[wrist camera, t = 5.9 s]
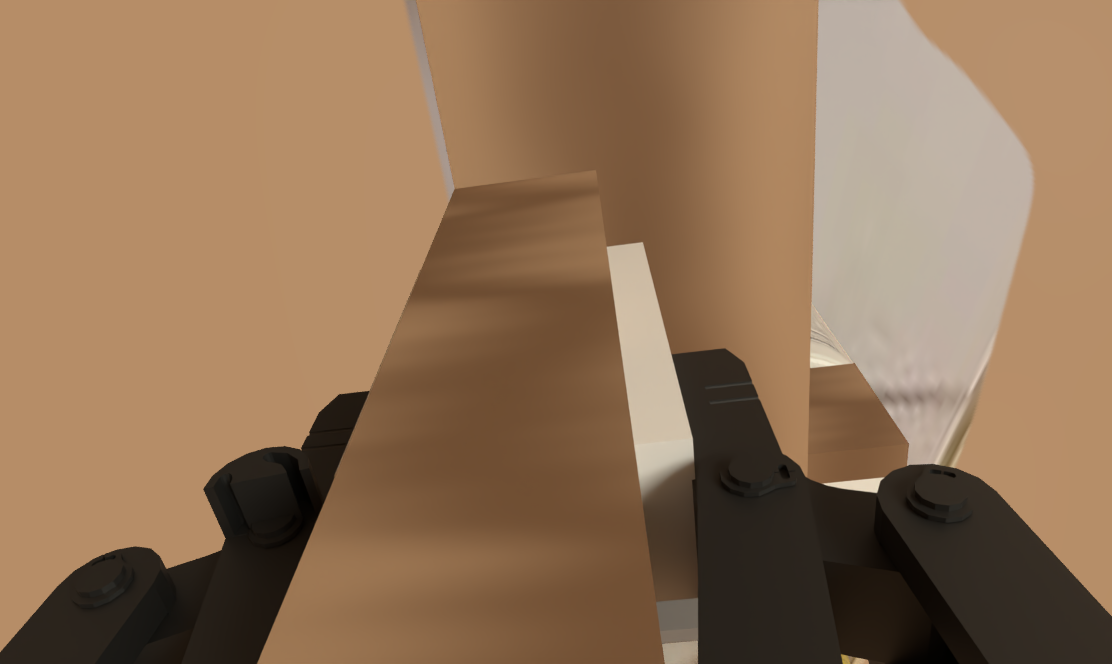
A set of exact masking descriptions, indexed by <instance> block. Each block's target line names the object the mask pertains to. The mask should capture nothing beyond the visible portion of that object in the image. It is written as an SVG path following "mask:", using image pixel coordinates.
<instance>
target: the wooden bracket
mask: <svg viewBox="0 0 1112 664" xmlns="http://www.w3.org/2000/svg"><path fill="white" fill-rule="evenodd" d="M416 3H417V8H418V13H419V17H420V22H421V27H422V32H423V37H424V42H425V47H426V51H427V56H428V61H429V66H430V71H431V76H432V81H433V85H434V90H435V95H436V100H437V105H438V110H439V114H440V119H441V124H442V129H443V134H444V139H445V144H446V148H447V153H448V158H449V163H450V168H451V173H452V178H453V182H454V187H455V190H454V192H453V194H452V197H451V199H450V202H449V204H448V206H447V209H446V211H445V214H444V216H443V218H442V221H441V223H440V226H439V228H438V231H437V233H436V236H435V238H434V240H433V243H432V245H431V248H430V250H429V252H428V255H427V257H426V260H425V262H424V264H423V267H422V269H421V271H420V274H419V276H418V279H417V281H416V283H415V286H414V288H413V291H412V293H411V295H410V298H409V300H408V303H407V305H406V307H405V310H404V312H403V315H402V317H401V319H400V322H399V324H398V327H397V329H396V331H395V334H394V336H393V339H392V341H391V343H390V346H389V348H388V351H387V353H386V355H385V358H384V360H383V363H382V365H381V367H380V370H379V372H378V375H377V377H376V379H375V382H374V384H373V387H372V389H371V391H370V394H369V396H368V399H367V401H366V403H365V406H364V408H363V411H362V413H361V415H360V418H359V420H358V423H357V425H356V427H355V430H354V432H353V435H352V437H351V440H350V442H349V444H348V447H347V449H346V452H345V454H344V456H343V459H342V461H341V464H340V466H339V468H338V471H337V473H336V476H335V478H334V480H333V483H332V485H331V488H330V490H329V492H328V495H327V497H326V500H325V502H324V504H323V507H322V509H321V512H320V514H319V516H318V519H317V521H316V524H315V526H314V528H313V531H312V533H311V536H310V538H309V540H308V543H307V545H306V548H305V550H304V552H303V555H302V557H301V560H300V562H299V564H298V567H297V569H296V572H295V574H294V576H293V579H292V581H291V584H290V586H289V588H288V591H287V593H286V596H285V598H284V600H283V603H282V605H281V608H280V610H279V612H278V615H277V617H276V620H275V622H274V624H273V627H272V629H271V632H270V634H269V636H268V639H267V641H266V644H265V646H264V649H263V651H262V653H261V656H260V658H259V661H258V663H257V664H665V663H664V655H663V648H662V641H661V634H660V627H659V619H658V612H657V605H656V598H655V591H654V583H653V576H652V569H651V562H650V555H649V547H648V540H647V533H646V526H645V519H644V512H643V504H642V497H641V490H640V483H639V476H638V468H637V461H636V454H635V447H634V440H633V432H632V425H631V418H630V411H629V404H628V396H627V389H626V382H625V375H624V368H623V360H622V353H621V346H620V339H619V332H618V324H617V317H616V310H615V303H614V296H613V289H612V281H611V274H610V267H609V260H608V253H607V247H609V246H617V245H625V244H633V243H641V242H643V245H644V249H645V253H646V257H647V261H648V265H649V269H650V273H651V277H652V280H653V284H654V288H655V292H656V296H657V300H658V304H659V308H660V312H661V316H662V320H663V324H664V328H665V332H666V335H667V339H668V343H669V347H670V351H671V354H678V353H687V352H696V351H704V350H713V349H722V348H726V349H727V350H728V351H730V352H731V353H732V354H734V355H735V356H736V357H738V358H739V359H740V360H742V361H743V362H744V363H745V365H746V368H747V370H748V372H749V375H750V377H751V379H752V384H754V387H755V389H756V391H757V394H758V398H759V399H760V401H761V403H762V406H763V408H764V411H765V413H766V415H767V418H768V420H769V422H770V425H771V427H772V430H773V432H774V434H775V437H776V439H777V442H778V444H779V446H780V449H781V451H782V454H784V455H786V456H788V457H789V458H790V459H792V460H793V461H794V462H796V463H797V464H798V465H799V466H800V467H801V469H802V471H803V473H804V475H805V477H807V478H809V479H811V480H813V481H816V482H819V483H821V484H824V483H833V482H843V481H853V480H863V479H873V478H883V477H886V476H887V475H888V474H889V473H890V472H891V471H893V470H896V469H899V468H903V467H906V466H907V458H908V448H909V443H908V442H907V440H906V439H905V437H904V436H903V434H902V433H901V431H900V430H899V428H898V427H897V425H896V424H895V422H894V421H893V419H892V418H891V417H890V415H889V414H888V412H887V411H886V409H885V408H884V406H883V405H882V403H881V402H880V400H879V399H878V397H877V396H876V394H875V393H874V391H873V390H872V388H871V387H870V385H869V384H868V382H867V381H866V379H865V378H864V376H863V375H862V373H861V372H860V371H859V369H858V368H857V366H856V365H855V363H852V364H843V365H834V366H825V367H816V368H810V342H811V299H812V255H813V212H814V169H815V125H816V82H817V38H818V0H416Z"/></svg>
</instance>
